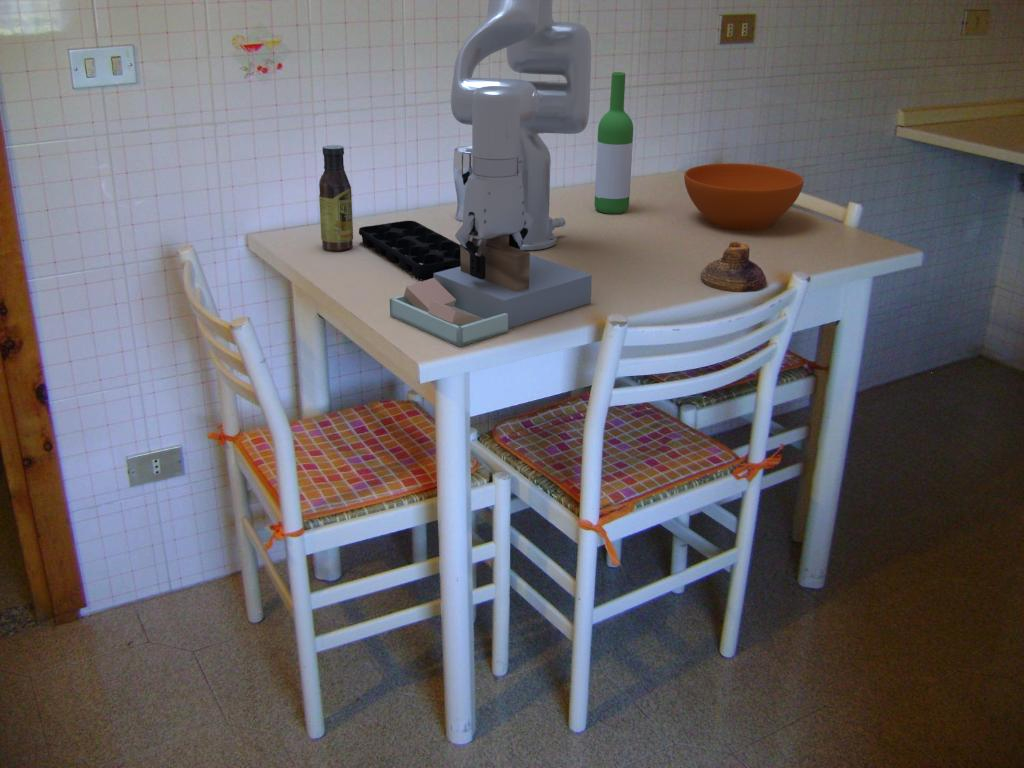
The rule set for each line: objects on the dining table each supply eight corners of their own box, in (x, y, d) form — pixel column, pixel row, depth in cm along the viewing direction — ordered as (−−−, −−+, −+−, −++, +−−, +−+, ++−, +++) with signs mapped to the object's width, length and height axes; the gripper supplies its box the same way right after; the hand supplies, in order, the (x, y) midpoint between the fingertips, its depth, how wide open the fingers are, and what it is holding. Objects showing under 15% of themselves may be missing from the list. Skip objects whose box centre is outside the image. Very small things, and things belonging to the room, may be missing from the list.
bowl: (822, 226, 229) (828, 180, 225) (739, 244, 216) (744, 195, 212) (738, 201, 248) (742, 158, 244) (657, 216, 235) (660, 171, 231)
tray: (437, 302, 182) (437, 285, 181) (507, 331, 170) (508, 314, 169) (390, 315, 176) (389, 298, 175) (459, 347, 164) (459, 328, 162)
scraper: (474, 267, 184) (473, 222, 180) (529, 287, 174) (530, 240, 171) (460, 271, 182) (460, 225, 179) (515, 291, 172) (516, 244, 169)
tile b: (431, 300, 168) (427, 312, 168) (455, 310, 164) (451, 323, 164) (458, 308, 172) (454, 320, 173) (482, 318, 168) (478, 330, 169)
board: (519, 277, 195) (520, 251, 193) (590, 302, 183) (591, 275, 181) (434, 301, 183) (433, 273, 181) (503, 330, 170) (503, 300, 168)
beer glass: (491, 217, 233) (492, 148, 226) (473, 224, 227) (473, 154, 221) (465, 212, 236) (465, 144, 230) (447, 219, 231) (446, 150, 224)
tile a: (430, 286, 180) (433, 277, 178) (453, 308, 177) (456, 299, 176) (403, 295, 176) (406, 286, 174) (426, 318, 173) (429, 309, 172)
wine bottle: (619, 216, 234) (626, 76, 222) (587, 211, 238) (594, 73, 226) (634, 209, 240) (643, 72, 228) (604, 204, 244) (610, 69, 232)
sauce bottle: (347, 253, 207) (342, 151, 199) (317, 251, 208) (310, 149, 200) (358, 244, 213) (353, 144, 205) (328, 241, 214) (323, 142, 206)
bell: (747, 297, 187) (751, 258, 184) (688, 283, 194) (691, 244, 191) (777, 281, 195) (782, 243, 192) (719, 268, 202) (723, 231, 199)
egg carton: (430, 287, 190) (429, 267, 189) (334, 250, 210) (333, 231, 209) (502, 268, 202) (502, 249, 200) (404, 234, 221) (404, 216, 220)
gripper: (519, 155, 178) (518, 257, 186) (438, 170, 168) (440, 277, 175) (551, 163, 173) (548, 267, 181) (469, 178, 163) (469, 289, 170)
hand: (495, 271), depth 178 cm, fingers open, 7 cm apart
